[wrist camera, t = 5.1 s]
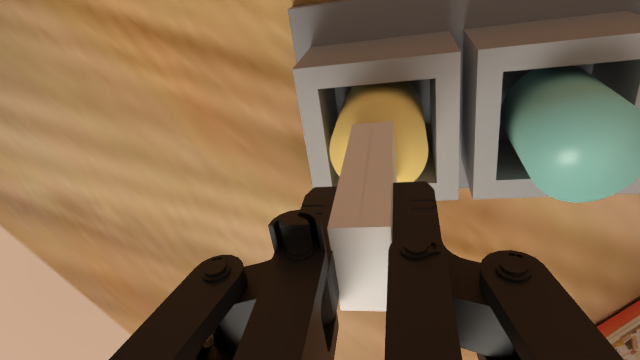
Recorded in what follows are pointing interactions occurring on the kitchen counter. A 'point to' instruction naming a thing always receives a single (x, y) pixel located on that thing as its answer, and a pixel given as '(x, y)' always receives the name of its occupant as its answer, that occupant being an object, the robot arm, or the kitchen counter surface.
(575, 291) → the kitchen counter surface
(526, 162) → the teal button
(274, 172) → the kitchen counter surface
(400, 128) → the mustard button
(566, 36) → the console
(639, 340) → the cracker box
